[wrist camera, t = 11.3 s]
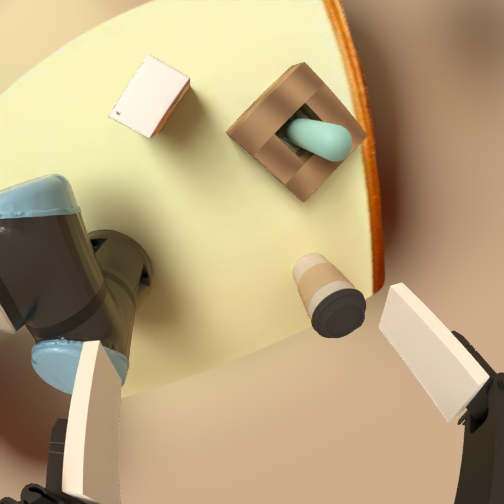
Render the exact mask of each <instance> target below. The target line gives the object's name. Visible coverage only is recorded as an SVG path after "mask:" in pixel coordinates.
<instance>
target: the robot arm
mask: <svg viewBox="0 0 504 504" xmlns="http://www.w3.org/2000/svg"><path fill="white" fill-rule="evenodd" d="M80 212H82V211H81V208H80V207H78V205H77V202H76V200H75V197H74V194H73V191H72V188H71V185H70V183H69V181H68V180H67V179H66V178H65V177H64V176H62V175H59V174H51V175H46V176H42V177H39V178H35V179H32V180H28V181H25V182H22V183H19V184H16V185H13V186H11V187H8V188H5V189H3V190H0V331H3V332H8V333H13V334H14V333H15V332H16V331H17V330H19V329H20V328H21V327H22V326H23V325H24V324H25V325H26V327H27V329H28V330H29V332H30V333H31V335H32V336H33V338H34V339H35V342H36V344H35V345H34V346H33V348H32V365H33V367H34V369H35V371H36V372H37V374H38V375H39V376H40V377H41V378H42V379H43V380H44V381H46V382H47V383H48V384H50V385H51V386H53V387H55V388H57V389H59V390H61V391H63V392H66V393H69V394H72V399H71V405H70V412H69V418H68V419H57V421H56V423H55V425H54V427H53V428H52V433H51V441H50V442H51V444H50V447H49V452H50V453H49V456H48V465H47V476H46V488H43V487H42V486H40V485H38V484H33V483H31V484H28V485H26V486H25V487H24V488H23V489H22V492H21V501H19V502H18V501H16V500H14V499H12V498H10V497H4V498H3V499H1V500H0V504H121V501H120V484H119V418H120V399H121V387H122V386H123V385H124V382H125V379H126V375H127V371H128V368H129V353H130V346H131V338H132V331H133V324H134V318H135V312H136V311H137V310H138V308H139V307H140V306H141V305H142V303H143V302H144V301H145V299H146V298H147V296H148V294H149V291H150V288H151V282H152V267H151V263H150V260H149V258H148V256H147V254H146V253H145V251H144V250H143V249H142V247H141V246H140V245H139V244H138V243H137V242H135V241H134V240H133V239H131V238H130V237H128V236H126V235H124V234H122V233H119V232H116V231H111V230H98V231H93V232H90V233H87V231H86V228H85V225H84V222H83V219H82V216H81V213H80ZM378 328H379V329H380V330H381V332H382V333H383V334H384V336H385V337H386V338H387V339H388V341H389V342H390V343H391V345H392V346H393V347H394V349H395V350H396V351H397V353H398V354H399V355H400V356H401V358H402V359H403V361H404V362H405V363H406V364H407V366H408V367H409V368H410V370H411V371H412V373H413V374H414V375H415V377H416V378H417V380H418V381H419V382H420V384H421V385H422V386H423V388H424V389H425V391H426V392H427V393H428V395H429V396H430V398H431V399H432V400H433V402H434V403H435V405H436V406H437V407H438V409H439V410H440V412H441V413H442V415H443V416H444V417H445V419H446V421H447V422H449V421H451V420H452V419H454V418H455V417H456V416H458V415H459V414H460V413H461V412H462V411H463V410H464V408H465V407H466V408H467V411H466V413H464V415H463V416H462V417H461V418H460V419H459V421H458V425H459V424H461V423H462V422H463V421H464V420H465V421H464V423H463V424H462V425H465V432H464V445H463V455H462V463H461V469H460V476H459V482H458V488H457V493H456V497H455V502H454V504H504V373H498V374H497V373H496V372H495V371H494V370H493V369H492V368H491V367H490V366H489V365H488V364H487V362H486V361H485V360H484V359H483V358H482V357H481V355H480V354H479V353H478V352H477V351H475V349H474V348H473V346H472V345H470V343H469V342H468V341H467V340H466V339H465V338H464V337H463V336H462V335H460V334H459V333H457V332H456V331H452V332H450V331H449V330H448V329H447V328H446V327H445V326H444V324H443V323H442V322H441V321H440V320H439V319H438V318H437V317H436V316H435V315H434V314H433V313H432V312H431V311H430V310H429V309H428V308H427V307H426V306H425V305H424V304H423V303H422V302H421V301H420V300H419V299H418V298H417V297H416V296H415V295H414V294H413V293H412V292H411V291H410V290H409V289H408V288H407V287H406V286H405V285H404V284H403V283H399V284H395V285H392V286H390V289H389V293H388V296H387V300H386V304H385V307H384V311H383V314H382V318H381V321H380V324H379V327H378Z"/></svg>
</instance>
